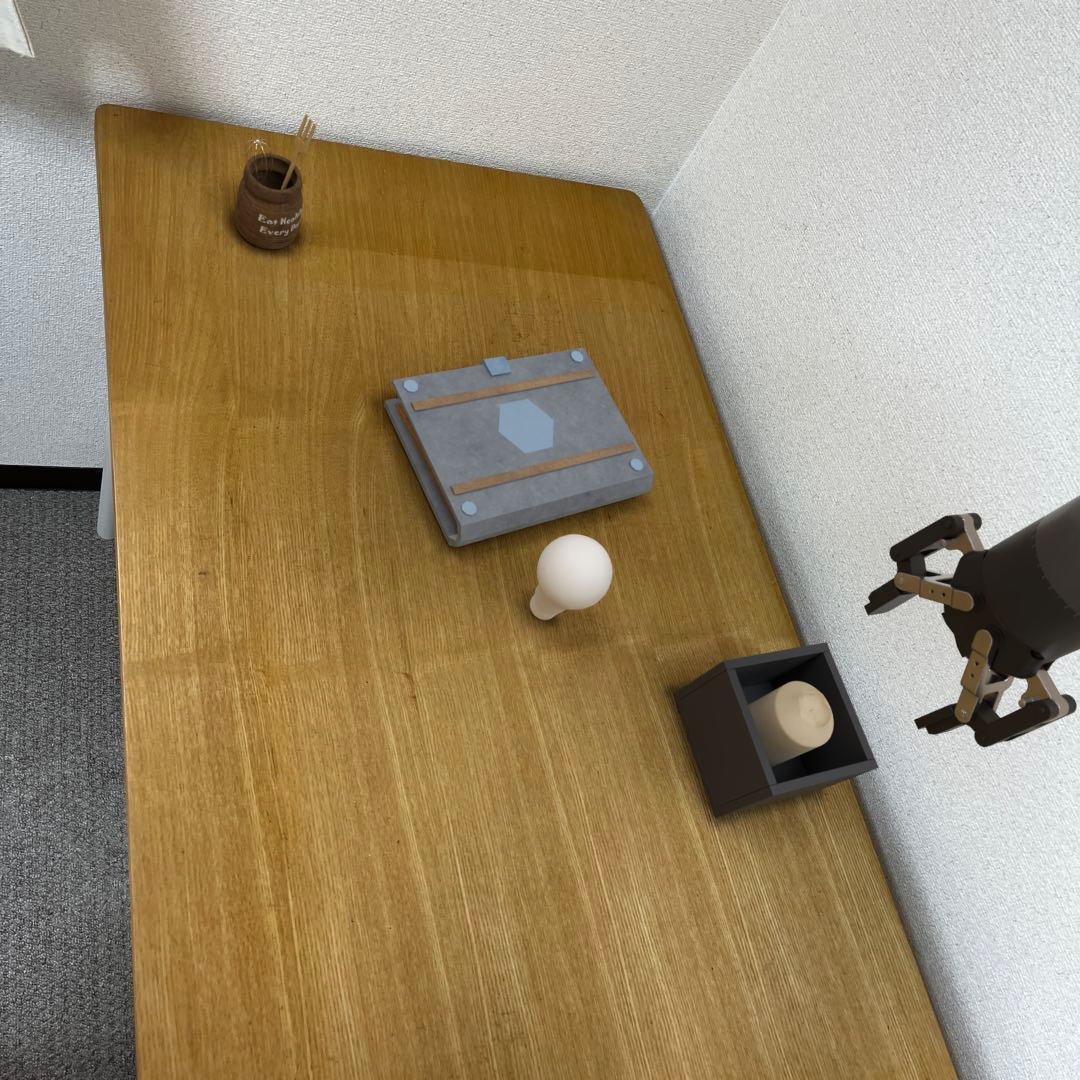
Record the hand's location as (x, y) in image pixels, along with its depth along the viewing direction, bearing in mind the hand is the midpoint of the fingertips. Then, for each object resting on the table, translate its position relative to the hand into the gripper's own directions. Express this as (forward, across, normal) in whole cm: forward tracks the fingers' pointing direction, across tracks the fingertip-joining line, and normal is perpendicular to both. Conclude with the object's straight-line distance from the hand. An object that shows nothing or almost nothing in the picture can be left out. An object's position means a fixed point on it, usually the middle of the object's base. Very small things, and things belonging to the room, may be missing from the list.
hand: (898, 665), depth 64 cm
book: (+20, -31, -14) cm, 40 cm away
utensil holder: (+20, -58, -33) cm, 70 cm away
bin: (+20, 0, 0) cm, 20 cm away
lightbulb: (+20, -15, -16) cm, 30 cm away
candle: (+20, 0, 0) cm, 20 cm away
